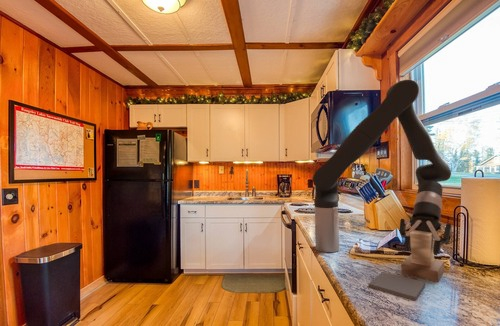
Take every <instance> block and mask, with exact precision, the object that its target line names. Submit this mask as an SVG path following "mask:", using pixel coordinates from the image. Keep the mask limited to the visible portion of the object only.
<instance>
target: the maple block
mask: <svg viewBox="0 0 500 326" xmlns="http://www.w3.org/2000/svg"><path fill="white" fill-rule="evenodd" d="M410 241H411V247H410V255H411V263H416V264H421V265H426V266H432V265H433V263H434V259H435V255H434V253H433V248H434V238H433V234H432V232H425V231H417V230H415V231H412V232H411V233H410Z"/></svg>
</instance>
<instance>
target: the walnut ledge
mask: <svg viewBox="0 0 500 326" xmlns="http://www.w3.org/2000/svg"><path fill="white" fill-rule="evenodd" d="M400 266H401V274H402V275H407V276H410V277H416V278H418V279H423V280H427V281H432V282H436V283H439V282H440V280H441V278H442V276H443V274H444V272H445V261H444V260H441V259H440V260H439V259H435V258H434V263H433V265H432V266H426V265H421V264H416V263H411V254H410V255H408V256H407V258H405V259H404V260H403V262H401V265H400Z"/></svg>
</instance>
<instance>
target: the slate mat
mask: <svg viewBox="0 0 500 326" xmlns="http://www.w3.org/2000/svg"><path fill="white" fill-rule="evenodd" d="M426 285H427V284H426V282H424V281H421V280H417V279H412V278H410V277H409V278H408V277H405V276H400V275H396V274H392V273H388V272H383V271H381V272H380V273H379V274H378V275H377V276H375V278H373V279H372V280H371V281H370V282H369V283H368V288H372V289H375V290H379V291H382V292H386V293H389V294H393V295H394V296H395V295H396V296H399V297H403V298H407V299H410V300H413V301H417V300H418V298H419V297H420V295H421V293H422V292H423V290H424V289H425V287H426Z"/></svg>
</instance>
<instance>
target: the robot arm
mask: <svg viewBox="0 0 500 326" xmlns="http://www.w3.org/2000/svg"><path fill="white" fill-rule="evenodd" d="M420 91H421V90H420V85H419V84H418V83H417V81H415V80H412V79H403V80H400V81H397V82H396V83H395V84H393V85H392V86H389V88H388V89H387V92H386V95H385V98H384V99H383V101H382V102H381V103H380V104H379V105H378V106H377V107H376V109H375V110H373V111H372V112H371V113H370V114H369V115H367V116H366V117H365V118H364V119H363V120H361V121H360V123H358V124H357V125H356V126H355V127H354V128H353V130H352V131H351V132H350V133H349V134H348V135H347V137H346V138H345V139H344V140H343V141H342V142H341V144H340V145H339V147H338V148H337V149H336V151H335V152H334V153H333V155H332V156H331V157H330V158H328V159H327V160H326V162H324V163H323V164H322V165H321V166H320V167H319V168H317V169H316V170H315V171H314V173H313V175H312V183H313V186H314V190H315V191H314V192H315V194H314V195H315V196H314V228H315V230H314V231H315V232H314V233H315V234H314V235H315V236H314V237H315V238H314V239H315V251H319V252H324V253H336V252H339V251H340V230H339V229H340V228H339V227H340V225H339V221H340V220H339V180H340V178H341V177H342V176H343V174H344V172H345V171H346V170H347V169H348V168H349V167H351V165H352V164H354V163H355V162H356V161H358V160H359V159H360V158H361V157H362V156H364V154H366V153H367V152H368V151H369V150H370V149H371V148H372V146H374V144H375V143H376V142H377V141H378V140H379V138H380V137H381V136H382V135H383V134H384V133H385V131H386V130H387V129H388V128H389V127H390V125H391V124H392V122H394V121H395V120H396V119H397V120H398V122H399V123H400V125H401V127H402V130H403V131H404V134H405V137H406V139H407V142H408V144H409V147H410V150H411V152H412V154H413V157H414V159H416V160H418V161H428V162H430V163H427V164H422V165H418V167H417V168H416V169H415V177H416V180H417V186H418V187H417V188H418V189H417V193H416V196H415V200H414V206H413V210H412V211H413V212H412V216H411V219H410V220H405V219H404V218H401V219H399V220H400V221H399V234H400V237H401V238H402V239H404V243H403V246H404V248H405V249H406V251H411V241H410V233H411V232H412V231H415V230H417V231H425V232H432V234H433V243H434V248H433V253H434V256H438V255H440V254H441V249H442V248H441V247H442V245H444V244H445V245H449V244H450V242H451V237H452V232H453V227H452V224H451V223H446V224H443V223H441V215H442V211H443V203H442V201H443V200H442V197H443V186H442V184H441V183H439V182H446V181H448V180H449V179H450V178H451V176H452V170H451V168H450V166H449V165H448V163H447V162H446V161H445V160H444V159H443V158H442V156H441V155H440V154H439V152H438V151H437V149H436V147H435V145H434V142H433V139H432V137H431V135H430V133H429V131H428V130H427V128H426V127H425V125H424V124H423V122H422V121H421V120H420V117H419V116H418V114H417V112H416V110H415V106H414V102H415V101H417V99H418V97H419V95H420ZM409 225H410V226H411V227H410V228H409V230H408V231H407V229H406V228H408V227H409ZM441 229H442V230H443V232H444V233H443V236H442V237H440V235H439V234H438V231H440V230H441ZM406 231H407V232H406Z"/></svg>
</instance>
